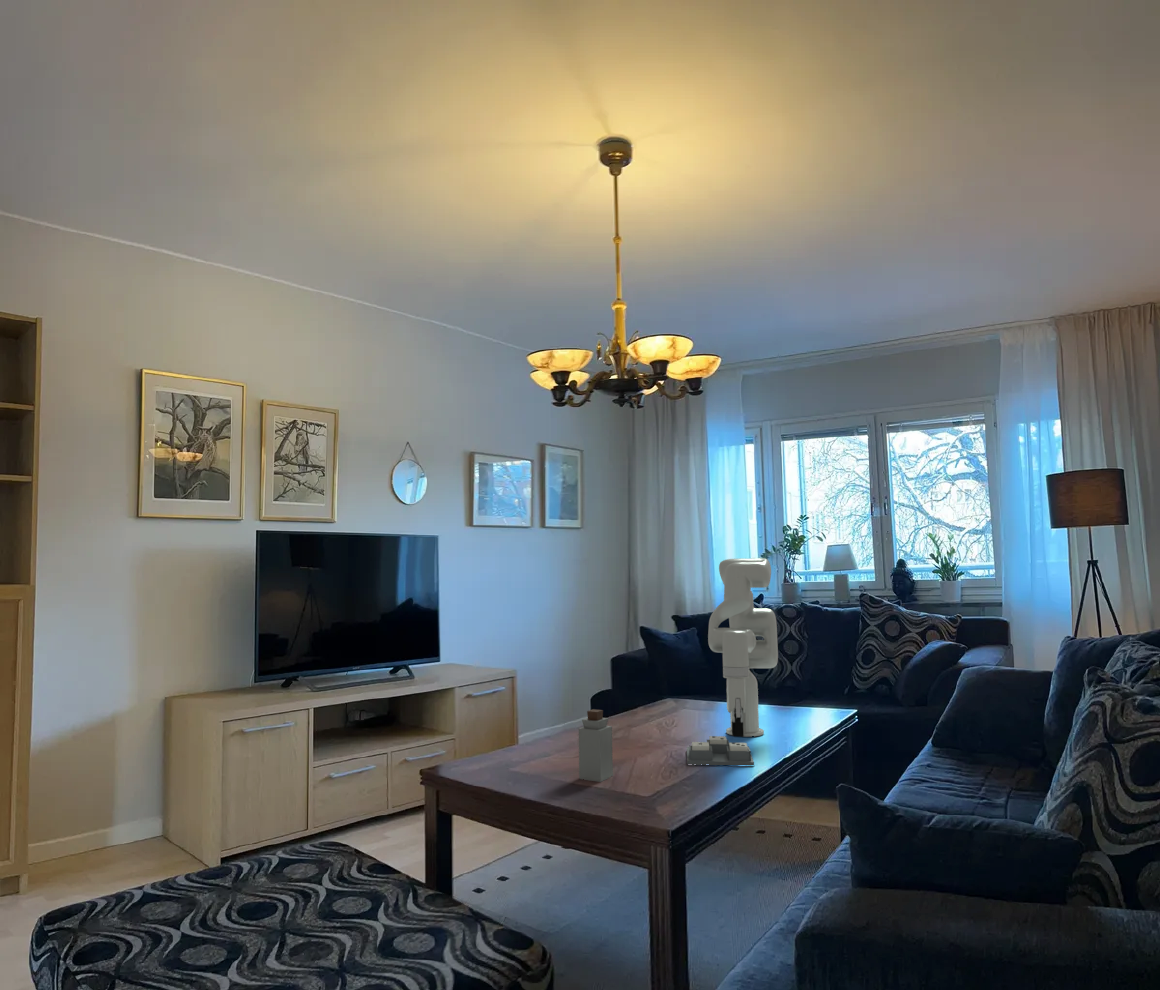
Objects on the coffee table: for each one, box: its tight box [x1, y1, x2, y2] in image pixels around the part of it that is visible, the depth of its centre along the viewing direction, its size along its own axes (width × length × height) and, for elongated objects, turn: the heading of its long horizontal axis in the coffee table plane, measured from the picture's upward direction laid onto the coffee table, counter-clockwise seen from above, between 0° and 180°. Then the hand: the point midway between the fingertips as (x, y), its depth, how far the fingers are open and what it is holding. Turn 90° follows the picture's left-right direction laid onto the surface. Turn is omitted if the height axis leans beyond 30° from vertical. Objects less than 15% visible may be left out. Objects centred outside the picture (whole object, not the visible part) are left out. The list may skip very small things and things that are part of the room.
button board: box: [686, 739, 755, 766], centre depth 237 cm, size 18×19×4 cm
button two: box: [708, 735, 728, 744], centre depth 241 cm, size 5×5×2 cm
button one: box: [691, 741, 709, 750], centre depth 233 cm, size 5×5×2 cm
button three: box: [729, 742, 748, 751], centre depth 232 cm, size 5×5×2 cm
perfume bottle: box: [578, 708, 614, 783], centre depth 218 cm, size 7×7×18 cm
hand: (737, 735), depth 232 cm, fingers closed
